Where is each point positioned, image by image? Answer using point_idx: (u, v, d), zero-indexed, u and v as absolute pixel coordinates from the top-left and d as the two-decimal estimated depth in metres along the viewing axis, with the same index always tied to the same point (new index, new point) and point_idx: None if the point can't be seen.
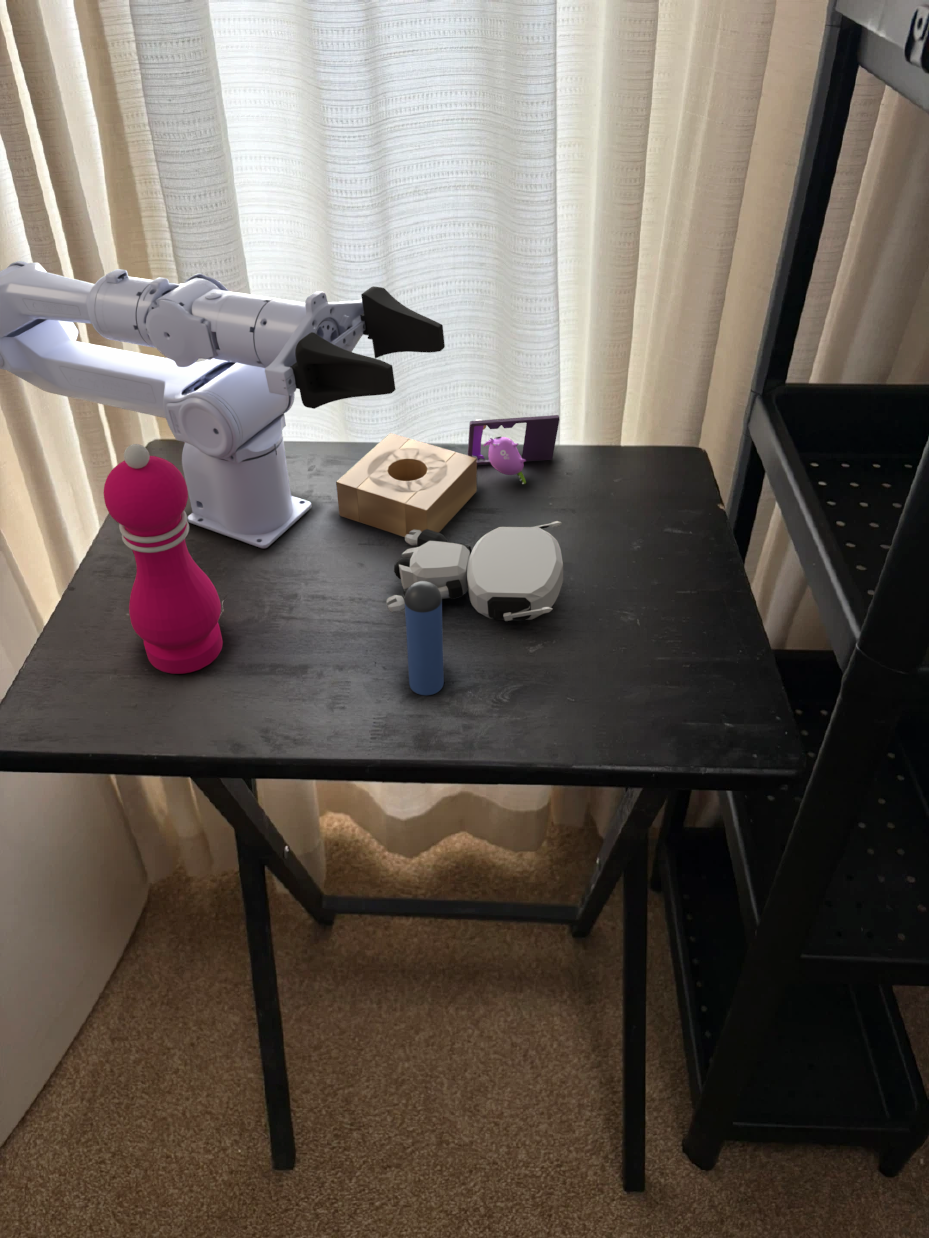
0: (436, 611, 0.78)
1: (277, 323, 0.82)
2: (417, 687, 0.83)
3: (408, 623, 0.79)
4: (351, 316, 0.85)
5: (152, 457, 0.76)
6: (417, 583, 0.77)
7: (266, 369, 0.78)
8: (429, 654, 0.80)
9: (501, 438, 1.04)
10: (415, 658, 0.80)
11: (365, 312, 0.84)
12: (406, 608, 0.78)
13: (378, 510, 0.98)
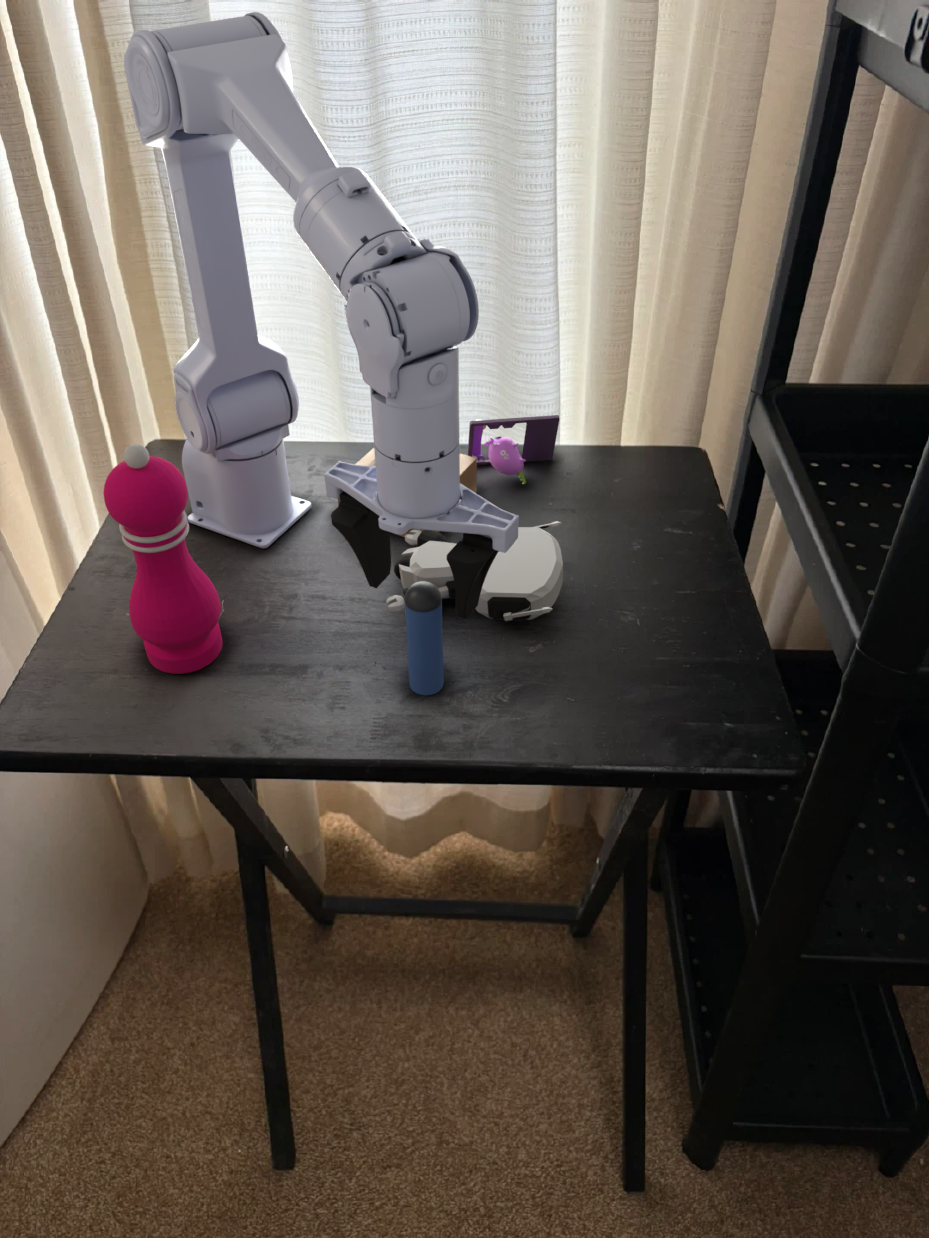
0: (436, 611, 0.78)
1: (377, 473, 0.69)
2: (417, 687, 0.83)
3: (408, 623, 0.79)
4: None
5: (152, 457, 0.76)
6: (417, 583, 0.77)
7: None
8: (429, 654, 0.80)
9: (501, 438, 1.04)
10: (415, 658, 0.80)
11: None
12: (406, 608, 0.78)
13: None
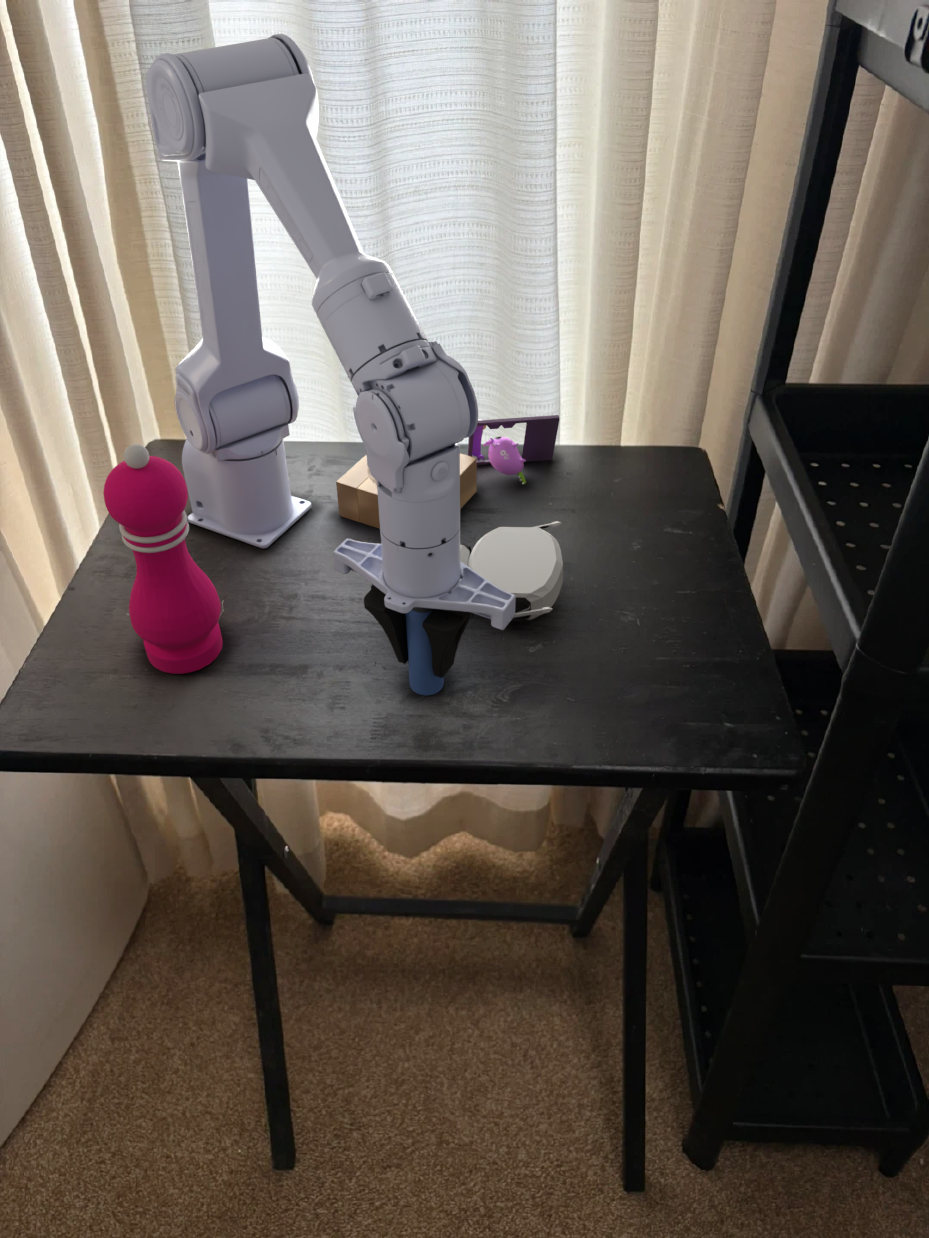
0: None
1: (383, 555, 0.74)
2: (417, 687, 0.83)
3: (408, 623, 0.79)
4: (461, 601, 0.75)
5: (152, 457, 0.76)
6: None
7: (333, 553, 0.78)
8: (430, 654, 0.80)
9: (501, 438, 1.04)
10: (416, 658, 0.80)
11: None
12: None
13: (378, 510, 0.98)
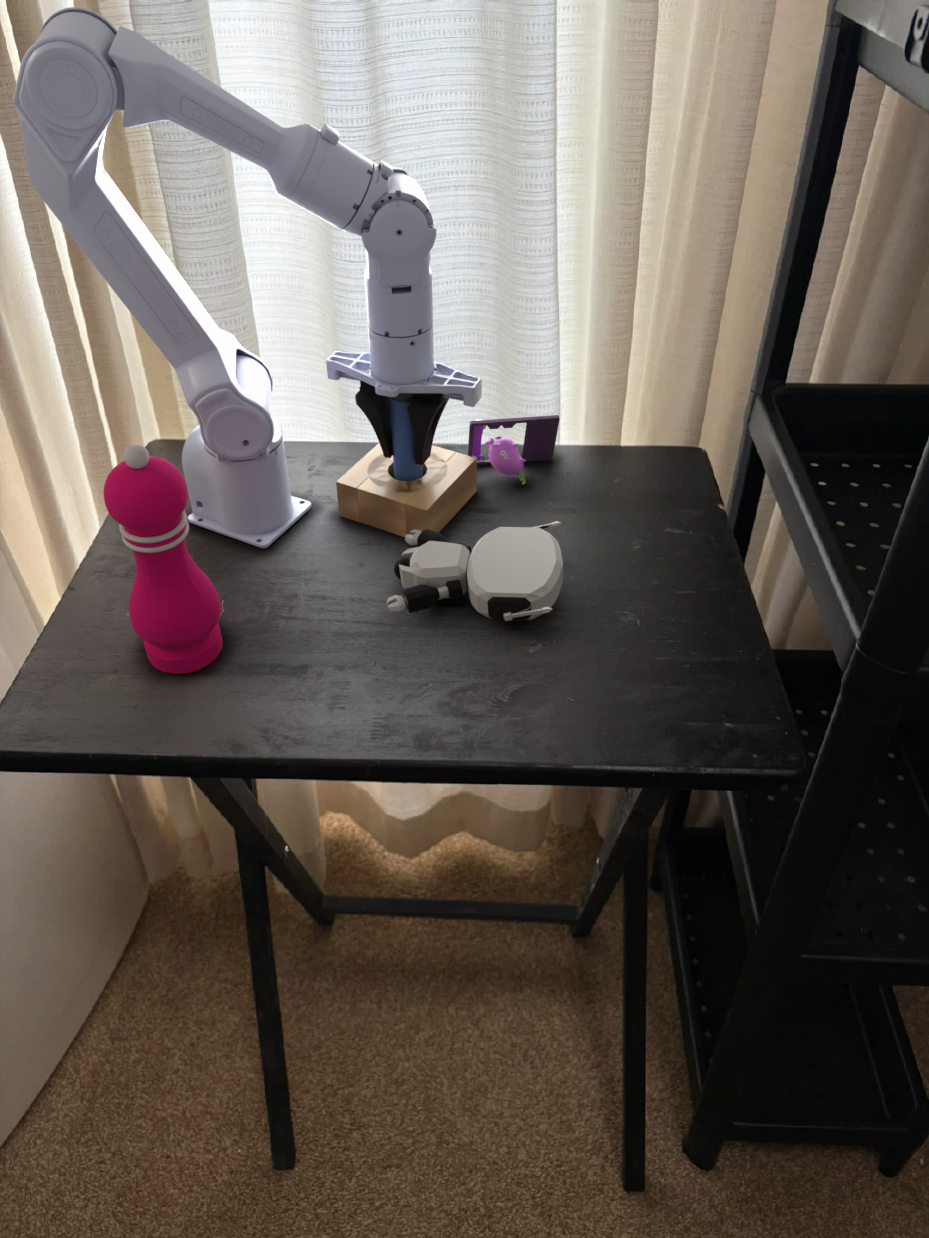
0: None
1: (371, 351, 0.90)
2: (402, 477, 0.99)
3: (393, 416, 0.95)
4: None
5: (152, 457, 0.76)
6: None
7: (326, 362, 0.94)
8: (412, 443, 0.97)
9: (501, 438, 1.04)
10: (400, 448, 0.97)
11: None
12: (391, 402, 0.94)
13: (378, 510, 0.98)
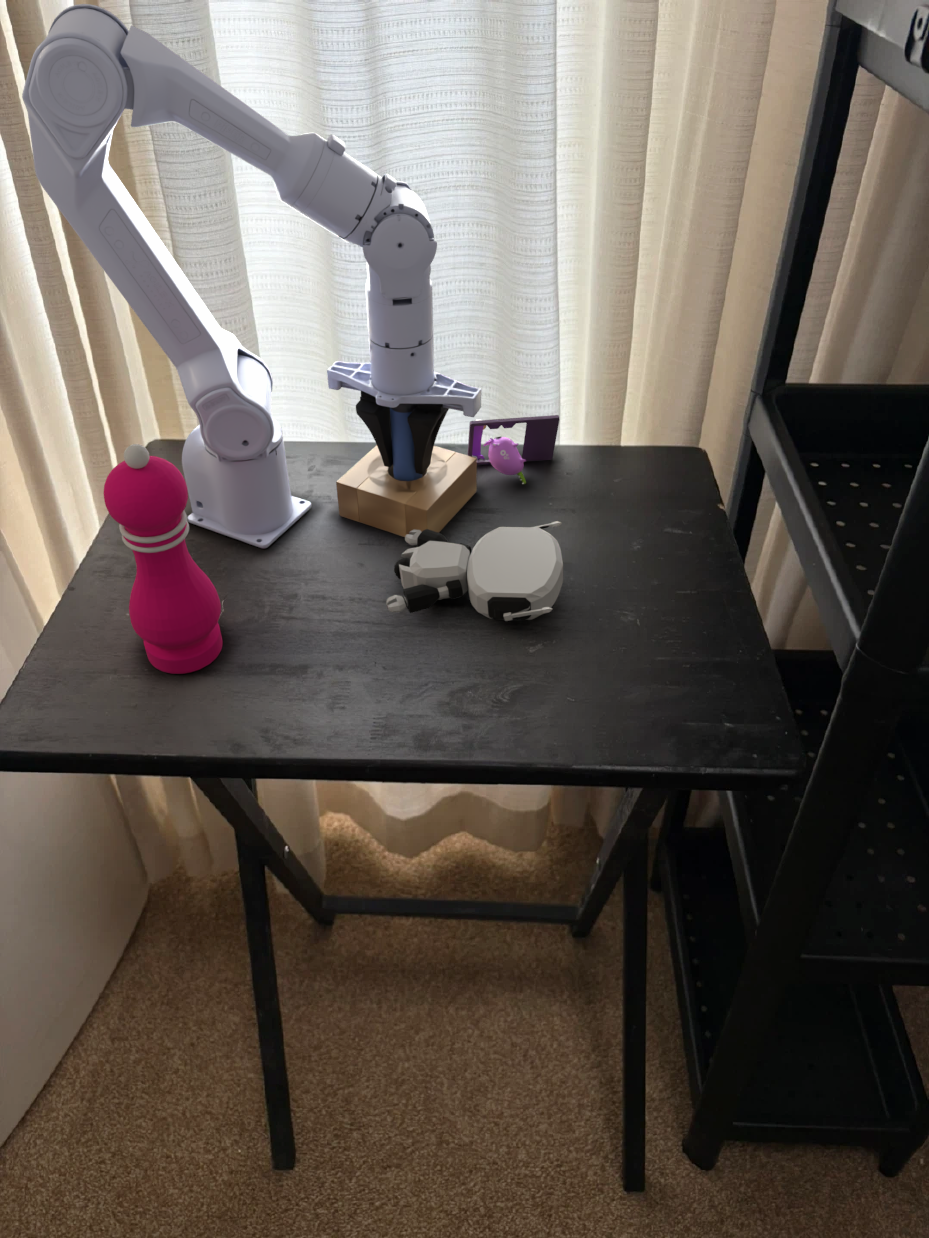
0: None
1: (372, 362, 0.91)
2: None
3: (393, 425, 0.96)
4: None
5: (152, 457, 0.76)
6: None
7: (327, 372, 0.95)
8: (412, 452, 0.97)
9: (501, 438, 1.04)
10: (400, 457, 0.98)
11: None
12: (391, 412, 0.95)
13: (378, 510, 0.98)
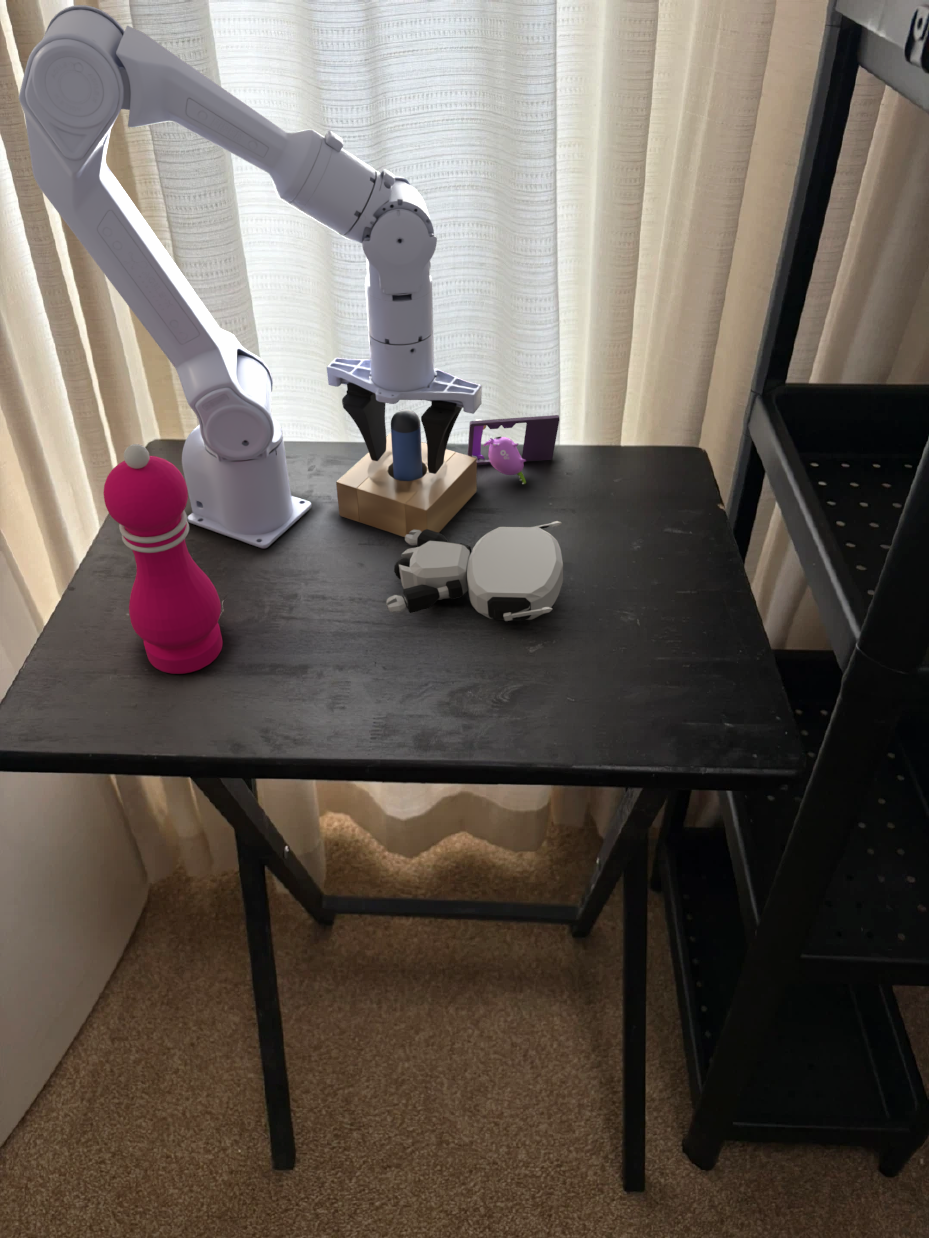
0: (417, 432, 0.96)
1: (372, 358, 0.91)
2: None
3: (394, 445, 0.97)
4: None
5: (152, 457, 0.76)
6: (400, 410, 0.96)
7: (327, 368, 0.95)
8: (413, 471, 0.99)
9: (501, 438, 1.04)
10: (401, 476, 0.99)
11: None
12: (392, 432, 0.96)
13: (378, 510, 0.98)
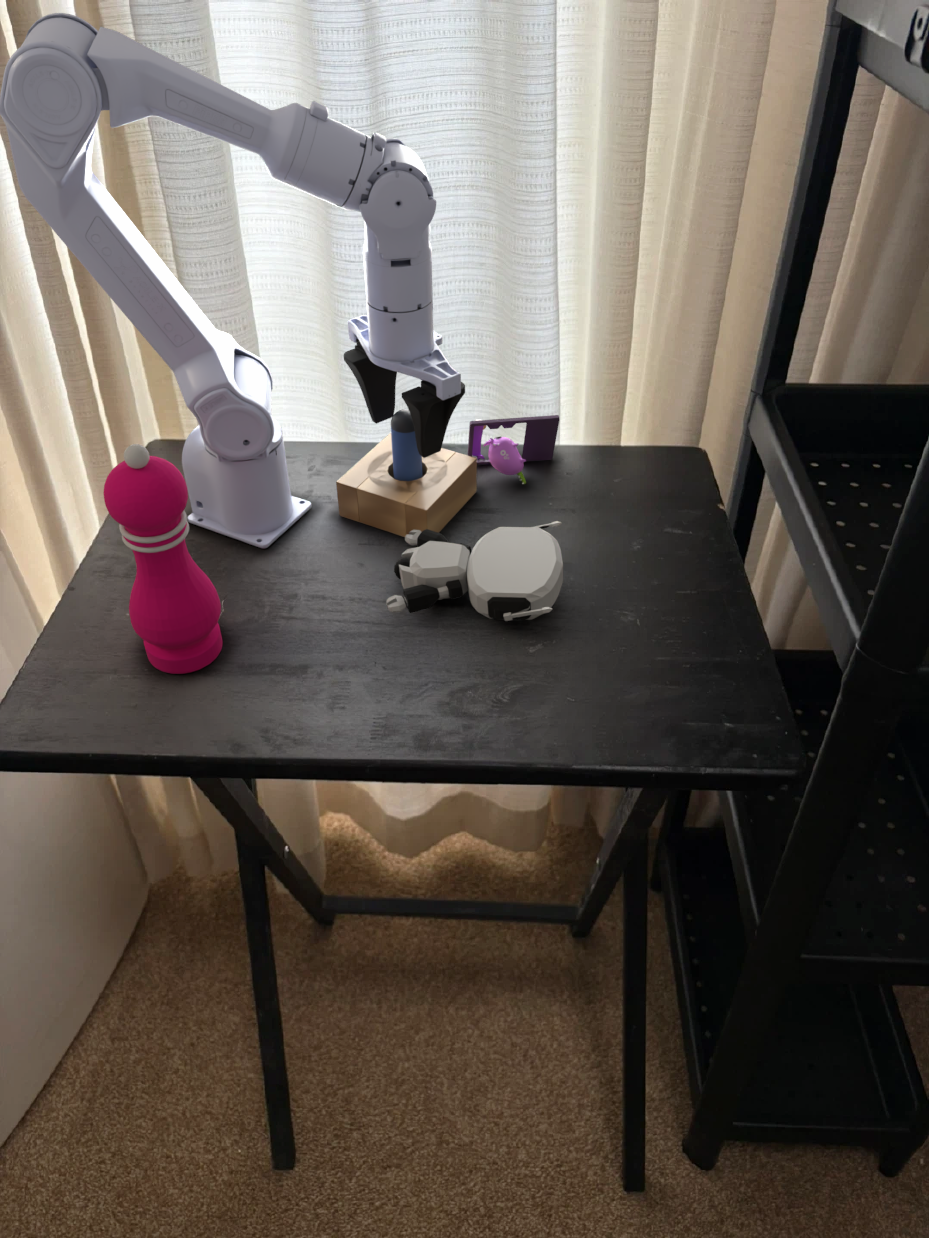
0: None
1: None
2: None
3: (394, 445, 0.97)
4: None
5: (152, 457, 0.76)
6: (400, 410, 0.96)
7: (460, 375, 0.88)
8: (413, 471, 0.99)
9: (501, 438, 1.04)
10: (401, 476, 0.99)
11: None
12: (392, 432, 0.96)
13: (378, 510, 0.98)
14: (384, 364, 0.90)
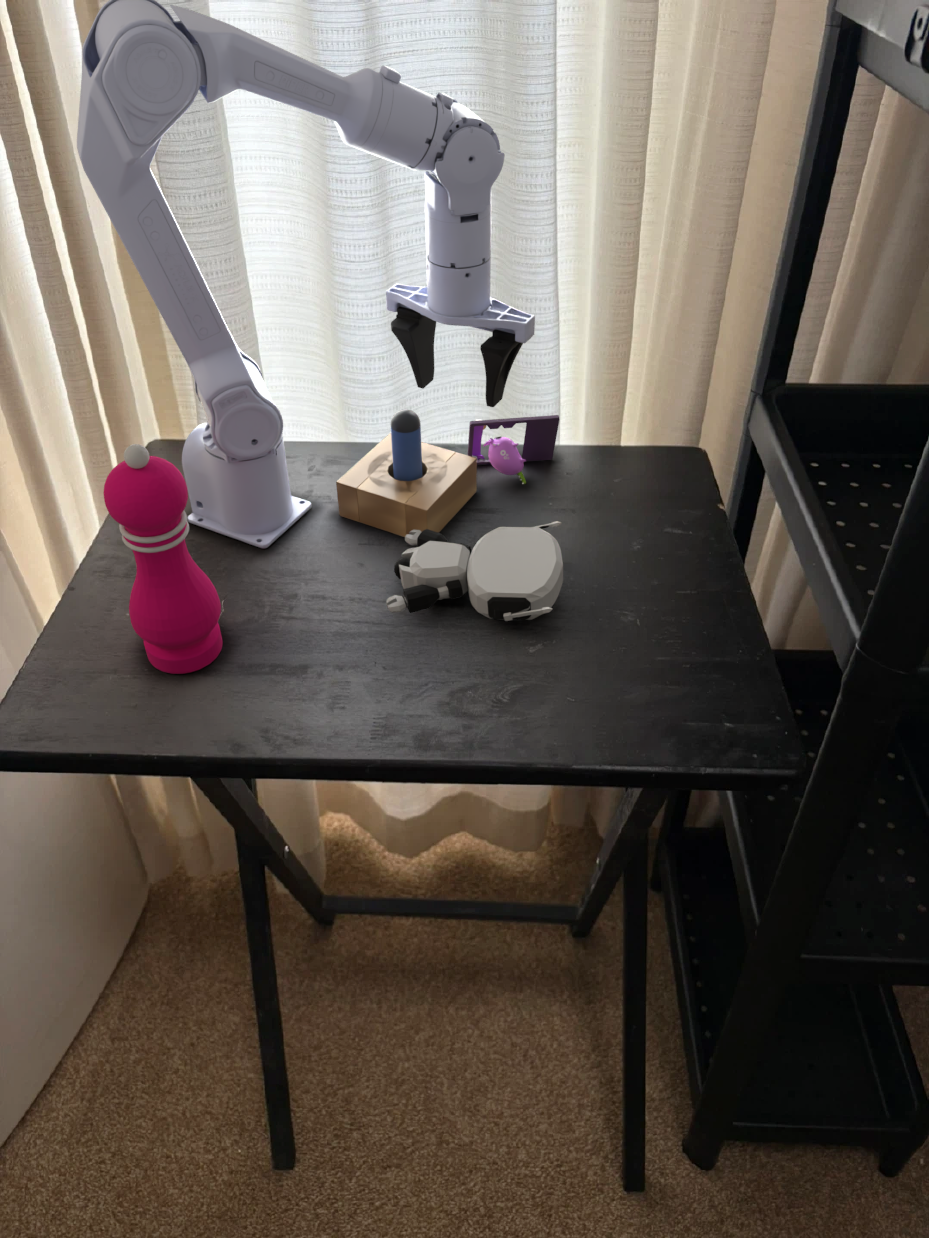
0: (417, 432, 0.96)
1: None
2: None
3: (394, 445, 0.97)
4: None
5: (152, 457, 0.76)
6: (400, 410, 0.96)
7: (534, 317, 0.92)
8: (413, 471, 0.99)
9: (501, 438, 1.04)
10: (401, 476, 0.99)
11: None
12: (392, 432, 0.96)
13: (378, 510, 0.98)
14: (456, 321, 0.92)
